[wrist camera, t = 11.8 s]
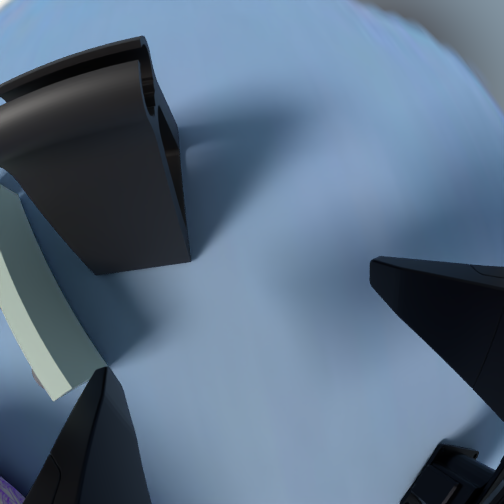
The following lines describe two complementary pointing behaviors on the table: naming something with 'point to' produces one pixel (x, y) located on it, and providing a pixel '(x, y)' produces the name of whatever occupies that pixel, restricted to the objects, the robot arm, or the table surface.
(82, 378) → the pale green curved block
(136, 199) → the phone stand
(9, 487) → the bowl of food
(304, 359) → the table surface
